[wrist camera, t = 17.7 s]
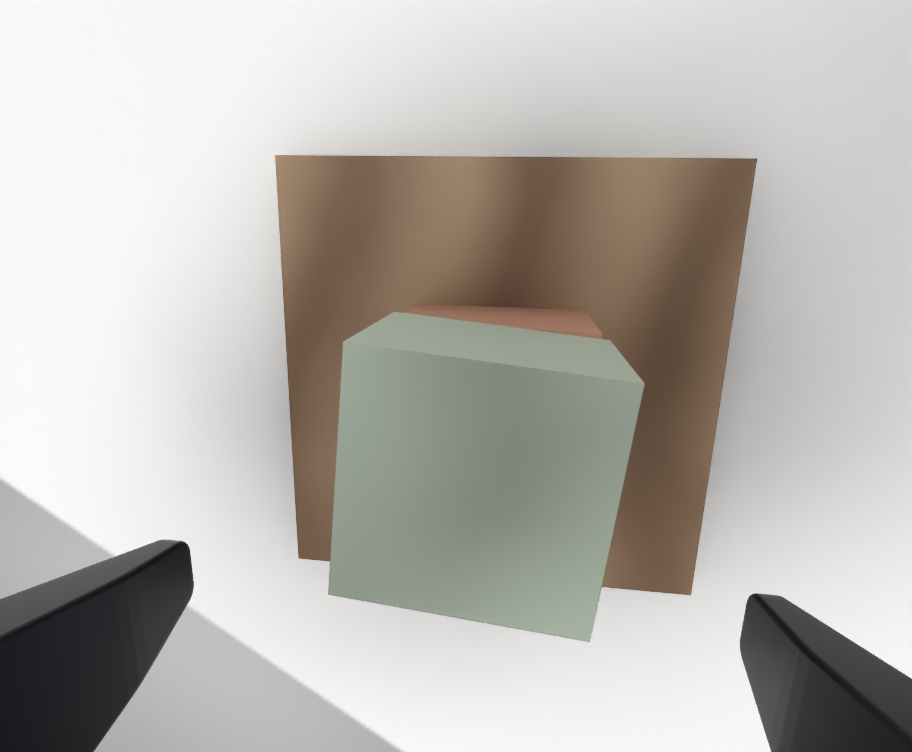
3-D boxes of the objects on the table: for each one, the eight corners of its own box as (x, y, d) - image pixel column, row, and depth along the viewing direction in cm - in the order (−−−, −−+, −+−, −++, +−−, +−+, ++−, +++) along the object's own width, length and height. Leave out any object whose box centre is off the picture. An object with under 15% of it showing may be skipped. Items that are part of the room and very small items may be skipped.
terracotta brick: (584, 310, 19) (602, 332, 15) (571, 468, 21) (583, 530, 16) (416, 303, 20) (385, 323, 15) (415, 457, 21) (387, 513, 17)
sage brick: (610, 340, 15) (644, 383, 10) (572, 534, 16) (590, 642, 12) (394, 311, 15) (343, 341, 11) (378, 502, 17) (328, 594, 13)
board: (744, 162, 18) (757, 158, 17) (683, 579, 22) (690, 595, 21) (287, 159, 20) (275, 155, 19) (307, 545, 24) (298, 558, 23)
